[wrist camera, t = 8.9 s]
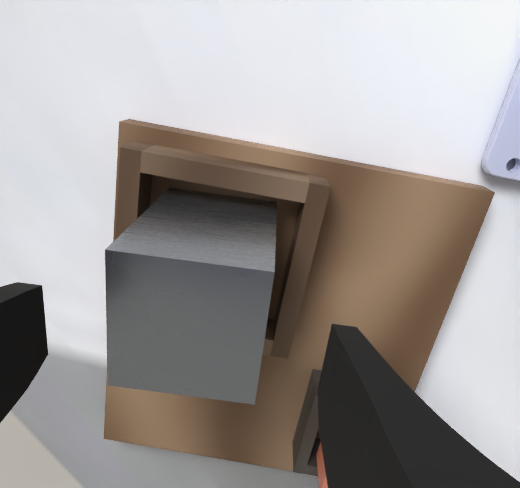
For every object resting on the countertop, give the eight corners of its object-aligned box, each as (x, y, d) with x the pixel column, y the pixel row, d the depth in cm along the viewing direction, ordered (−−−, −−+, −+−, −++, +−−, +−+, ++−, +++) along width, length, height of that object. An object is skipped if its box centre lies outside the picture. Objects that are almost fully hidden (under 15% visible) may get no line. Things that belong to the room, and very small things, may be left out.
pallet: (482, 185, 16) (518, 205, 13) (372, 467, 21) (384, 517, 19) (128, 119, 15) (100, 126, 13) (111, 422, 21) (89, 467, 19)
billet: (277, 201, 15) (274, 272, 10) (263, 296, 17) (254, 404, 11) (169, 187, 15) (105, 249, 10) (165, 283, 17) (107, 385, 11)
